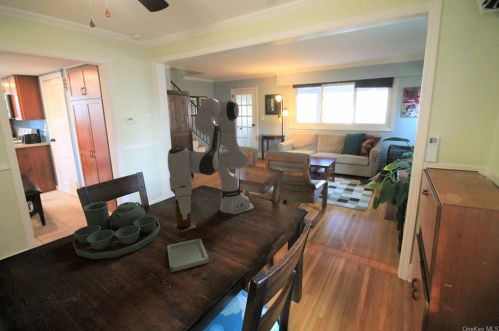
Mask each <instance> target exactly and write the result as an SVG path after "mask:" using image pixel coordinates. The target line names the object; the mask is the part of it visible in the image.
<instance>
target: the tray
mask: <svg viewBox="0 0 499 331" xmlns="http://www.w3.org/2000/svg"><path fill="white" fill-rule="evenodd" d="M167 255H168V263H169V264H168V265H169V271H170V272H169V273H174V272H178V271H183V270H186V269H189V268H192V267H193V266H194V267H196V266H197V265H198V266H200V265H205V264H208V263H210V258H209V255H208V252H207V251H206V248H205V245H204V242H203V240H202V238H201V237H200V238H195V239H191V240H187V241H186V240H185V241H182V242H177V243H173V244H172V243H171V244H168V245H167Z"/></svg>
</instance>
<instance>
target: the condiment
mask: <svg viewBox="0 0 499 331" xmlns="http://www.w3.org/2000/svg"><path fill="white" fill-rule="evenodd" d="M191 215H192V214H191V212H190V213H188V214H187V219H185V220H183V218H182V214H181V212H180V208H179V203H178V200H177V199H176V200H175V219H176V223H173V224H172V225H173V226H174V228H176V229H177V230H178V231H179V232H181V233H182V232H185V231H188V230H191V229H194V228H197V227H198V226H197V225H195V223H192V216H191Z"/></svg>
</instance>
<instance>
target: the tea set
mask: <svg viewBox="0 0 499 331" xmlns="http://www.w3.org/2000/svg"><path fill="white" fill-rule="evenodd" d="M108 205H109V203H108V202H107V201H98V202H91V203H90V204H86V205H85V206H83V207H82V211H83V212H84V214H85V215H84V216H85V220H86V225H85V226H82V227H80V228H78V229H76V230H75V231H73V235H74V237H75V239H74V240H73V241H72V245H73V248H74V250H75V253H76V255H77V256H79V257H83V258H85V259H90V260H99V259H102V260H103V259H110V258H111V259H112V258H117V257H120V256H121V257H122V256H123V255H126V254H130V253H132V252H135V251H138V250H140V249H141V248H144V247H145V246H147V245H148V244H150V243H151V242H153V241H154V240H155V238H156V237H157V236H158V234H159V232H160V231H161V224H160V222H159V220H158V218H157V217H155V216H150V215H148V214H146V210H145V208H143V207H142V206H141V203H140V202H137V201H136V202H133V201H126V202H123V203H120V204H119V205H117V206H116V207H117V208H115V210H113V211H112V213H111V214H110V213H109V207H108Z"/></svg>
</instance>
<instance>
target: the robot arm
mask: <svg viewBox="0 0 499 331" xmlns="http://www.w3.org/2000/svg"><path fill="white" fill-rule="evenodd" d="M239 113H240V108H239V104H238V103H237V102H236V101H235V100H230V99H229V100H225V99H224V100H223V99H218V100H217V99H215V98H212V97H208V98H205V99H204V101H203V102H202V103H201V104H200V106H199V109H198V111H197V112H196V115H195V116H194V117H195V118H194V126H195V128H196V130H197V131H198V132H199V133H200V134H202V135H203V136H207V137H208V138H209V141H208V149H207V150H206V151H204V152H203V151H193V150H192V151H191V150H189V149H188V148H187V146H184V145H179V146H173V147H171V148H169V150H168V153H167V170H168V172H169V178H168V179H169V188H170V191H171V192H172V193H173V194H174V196H175V198H176V200H178V203H179V208H180V212H181V214H182V218H183V220H185V219H187V214H188V213H190V214H191V207H192V205H191V204H192V203H191V202H192V201H191V199H192V198H191V195H192V194H193V191H192V190H193V182H192V175H191V174H198V175H205V176H212V175H214V174H215V173H216V172H217V174H218V176H219V179H220V206H219V211H220V212H222V213H225V214H232V215H237V214H238V215H239V214H241V213H245V212H247V211H250V210H254V209H255V208H254V205H253V204H252V203H251V201H250V199H249V197H248V196H247V195H246V194H244V189H242V188H241V187H239V178H238V176H237V175H236V174H235V173H234V172H232V171H231V170H230V169H243V168H246V167H247V166H248V165H249V162H250V158H249V155H248V153H247V152H246V151H244V150H243V149H242V148H241V147H240V145H239V143H238V139H237V129H236V119H237V118H238V117H239ZM221 146H222V147H224V148H226V150H220V149H221V148H220V147H221Z"/></svg>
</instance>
